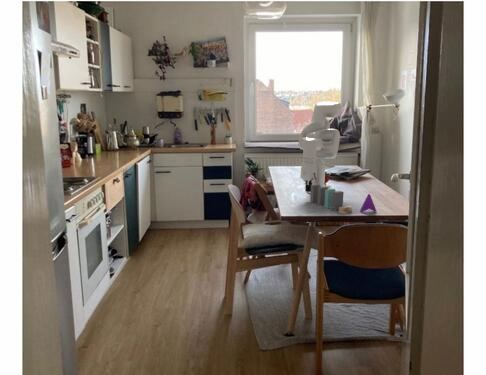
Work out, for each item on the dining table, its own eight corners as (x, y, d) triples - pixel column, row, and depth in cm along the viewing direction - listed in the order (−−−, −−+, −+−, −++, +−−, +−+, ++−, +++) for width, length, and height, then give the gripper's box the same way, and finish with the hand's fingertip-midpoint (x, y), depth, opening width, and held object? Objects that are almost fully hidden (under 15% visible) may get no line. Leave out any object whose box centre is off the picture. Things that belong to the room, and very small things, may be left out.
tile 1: (310, 202, 254) (310, 185, 252) (317, 201, 256) (317, 184, 254) (313, 203, 252) (313, 186, 250) (320, 202, 254) (320, 185, 252)
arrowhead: (366, 219, 235) (380, 206, 235) (368, 220, 234) (381, 206, 234) (355, 207, 233) (368, 193, 233) (356, 207, 231) (369, 194, 231)
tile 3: (332, 209, 237) (333, 191, 235) (339, 208, 240) (340, 190, 238) (335, 211, 235) (336, 192, 233) (342, 209, 237) (343, 191, 235)
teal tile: (324, 207, 243) (325, 189, 241) (331, 206, 245) (332, 188, 243) (327, 208, 241) (328, 190, 239) (334, 207, 243) (335, 189, 241)
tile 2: (317, 204, 248) (317, 187, 246) (324, 203, 251) (325, 186, 249) (320, 205, 246) (320, 188, 244) (327, 204, 249) (327, 187, 247)
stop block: (347, 211, 235) (348, 205, 234) (351, 212, 232) (351, 207, 231) (338, 212, 232) (339, 207, 231) (342, 213, 229) (343, 208, 229)
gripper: (296, 159, 260) (295, 189, 264) (311, 162, 247) (310, 194, 251) (306, 158, 263) (305, 188, 267) (322, 161, 251) (321, 193, 254)
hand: (308, 191), depth 259 cm, fingers closed
